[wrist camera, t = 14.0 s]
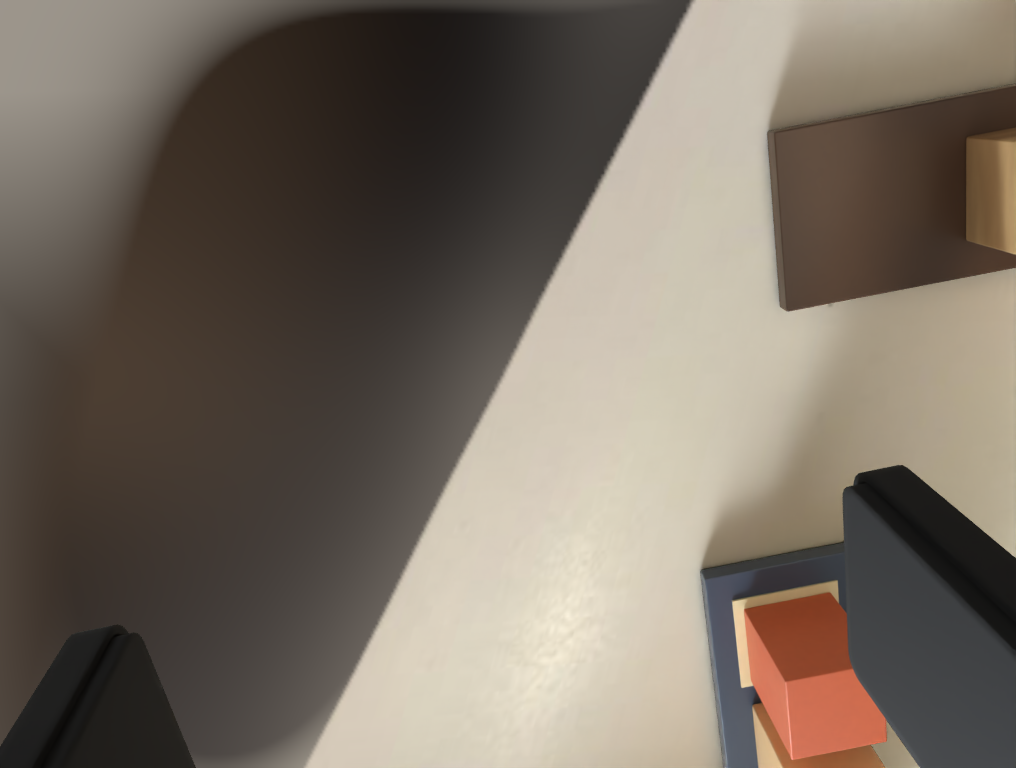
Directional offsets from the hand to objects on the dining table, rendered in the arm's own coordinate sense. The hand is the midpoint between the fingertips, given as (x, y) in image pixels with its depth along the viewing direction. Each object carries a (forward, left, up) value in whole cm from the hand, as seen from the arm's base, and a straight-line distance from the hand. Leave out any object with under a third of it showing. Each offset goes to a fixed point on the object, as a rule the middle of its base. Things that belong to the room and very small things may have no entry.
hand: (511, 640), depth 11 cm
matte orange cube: (+11, -19, -23) cm, 32 cm away
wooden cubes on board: (+24, 0, -23) cm, 34 cm away
